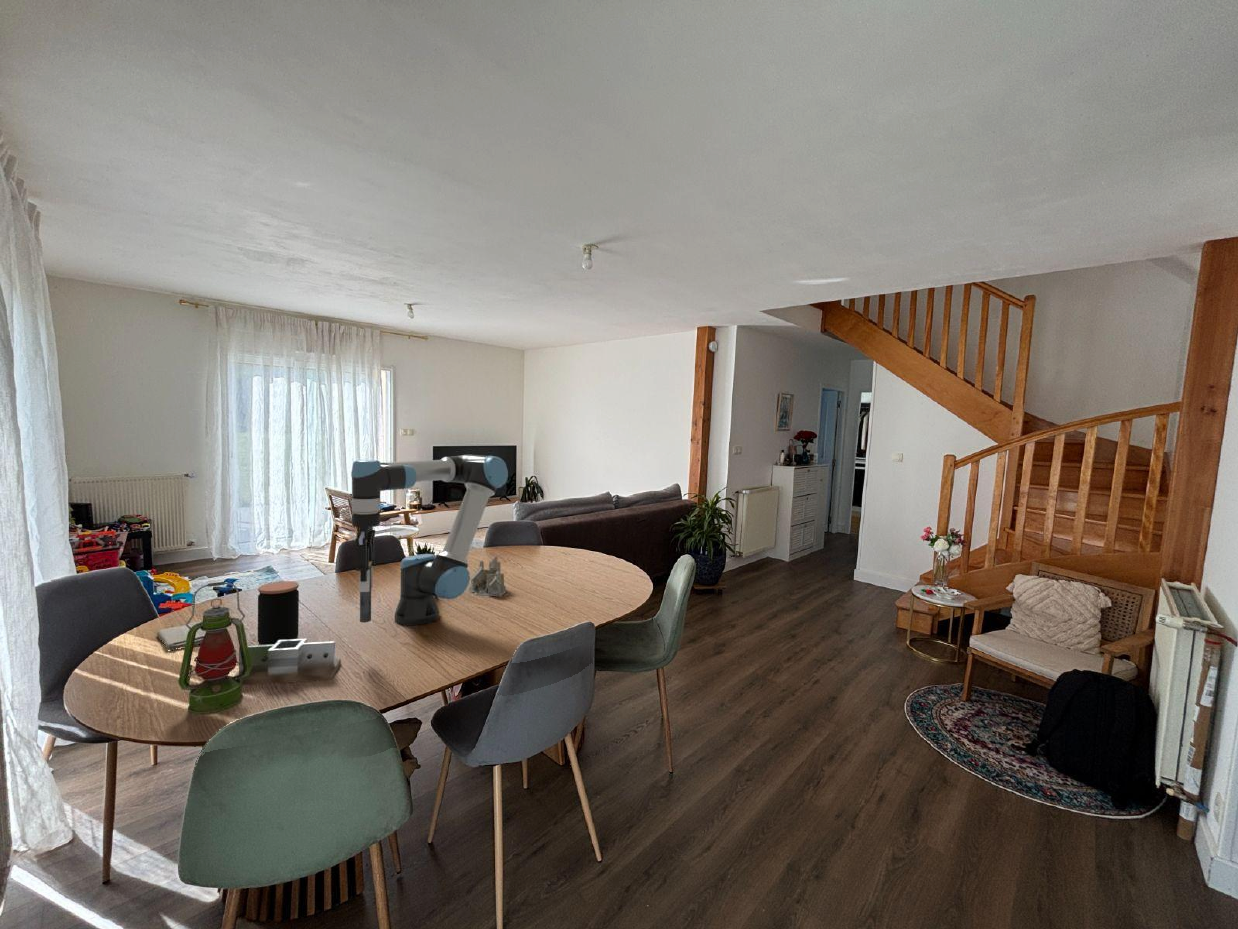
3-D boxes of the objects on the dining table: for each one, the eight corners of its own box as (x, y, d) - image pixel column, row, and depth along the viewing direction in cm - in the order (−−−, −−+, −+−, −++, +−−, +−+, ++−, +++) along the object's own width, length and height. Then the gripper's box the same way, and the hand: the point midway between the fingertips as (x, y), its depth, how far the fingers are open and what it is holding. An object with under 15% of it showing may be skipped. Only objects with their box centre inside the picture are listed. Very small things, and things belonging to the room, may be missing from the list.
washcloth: (168, 654, 148) (168, 643, 148) (155, 637, 159) (155, 627, 159) (218, 642, 157) (218, 632, 157) (202, 627, 168) (202, 618, 168)
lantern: (177, 723, 114) (176, 593, 112) (179, 702, 122) (179, 581, 120) (252, 704, 123) (253, 584, 121) (250, 686, 131) (250, 573, 129)
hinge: (337, 660, 144) (338, 637, 144) (330, 672, 137) (330, 647, 137) (245, 666, 138) (245, 641, 138) (233, 678, 132) (233, 652, 131)
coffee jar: (306, 638, 162) (306, 583, 161) (274, 651, 152) (274, 593, 151) (282, 633, 165) (282, 579, 164) (249, 645, 155) (249, 588, 154)
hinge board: (340, 664, 145) (340, 659, 145) (331, 679, 137) (331, 673, 137) (245, 670, 139) (245, 665, 139) (229, 686, 131) (229, 680, 131)
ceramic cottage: (470, 585, 225) (472, 553, 223) (507, 587, 227) (509, 555, 225) (464, 599, 209) (466, 564, 208) (504, 600, 211) (506, 566, 210)
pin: (372, 618, 153) (372, 560, 151) (369, 622, 150) (370, 563, 149) (361, 619, 152) (361, 560, 151) (358, 622, 149) (359, 563, 148)
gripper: (359, 507, 156) (358, 582, 157) (344, 516, 140) (344, 599, 142) (385, 507, 157) (384, 581, 159) (373, 516, 142) (373, 597, 143)
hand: (365, 589), depth 150 cm, fingers closed on pin, 3 cm apart
